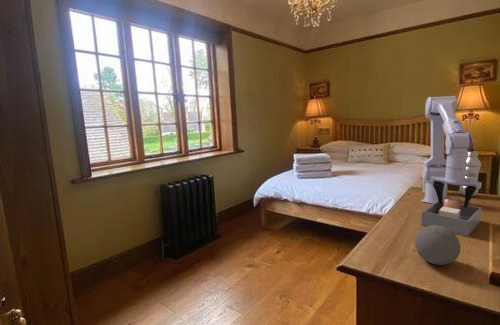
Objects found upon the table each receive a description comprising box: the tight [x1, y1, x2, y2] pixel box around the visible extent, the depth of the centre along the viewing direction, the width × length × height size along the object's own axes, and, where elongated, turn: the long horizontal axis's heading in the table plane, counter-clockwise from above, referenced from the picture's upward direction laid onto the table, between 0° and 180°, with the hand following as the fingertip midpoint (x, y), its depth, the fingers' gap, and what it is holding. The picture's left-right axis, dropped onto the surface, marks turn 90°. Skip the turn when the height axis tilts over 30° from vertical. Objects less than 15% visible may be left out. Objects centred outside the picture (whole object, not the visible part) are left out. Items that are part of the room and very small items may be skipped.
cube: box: [439, 206, 460, 219], centre depth 97 cm, size 5×5×5 cm
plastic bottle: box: [459, 150, 482, 197], centre depth 126 cm, size 6×7×20 cm
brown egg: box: [444, 195, 462, 209], centre depth 103 cm, size 5×5×7 cm
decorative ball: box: [414, 225, 462, 266], centre depth 75 cm, size 10×10×10 cm
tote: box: [420, 201, 483, 238], centre depth 99 cm, size 17×13×5 cm
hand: (452, 204), depth 102 cm, fingers open, 7 cm apart
